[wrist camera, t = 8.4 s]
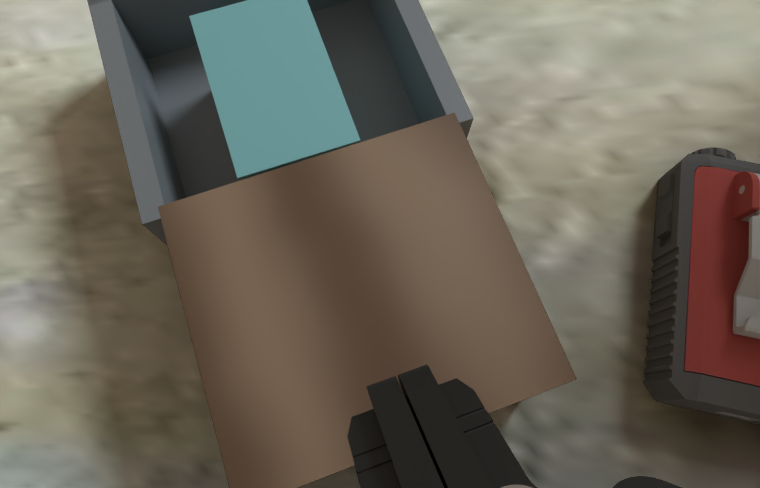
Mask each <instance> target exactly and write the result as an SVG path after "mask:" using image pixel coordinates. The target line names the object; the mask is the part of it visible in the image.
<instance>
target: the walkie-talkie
mask: <svg viewBox="0 0 760 488" xmlns="http://www.w3.org/2000/svg"><path fill="white" fill-rule="evenodd" d="M652 261H653V262H654V267H653V268H652V270H651V271H652V272H653V278H652V279H651V283H653V285H652V289H651V290H650V293H651V294H652V298H651V300H650V301H649V304H650V305H651V311H649V312H648V315H649V316H650V322H649V323H648V324H647V326H648V327H649V334H647V338H648V339H649V340H648V346H646V350H647V351H648V354H647V357H646V358H645V362H647V368H646V369H644V373H645V374H646V381H644V382H643V383H644V385H645V386H646V388H647V389H648V390H649V392H650V393H651V395H652V396H653V397H654V399H655V400H656V401H658V402H662V403H667V404H671V405H675V406H680V407H684V408H689V409H693V410H698V411H702V412H706V413H711V414H715V415H720V416H724V417H728V418H733V419H737V420H742V421H746V422H750V423H755V424H759V425H760V164H755V163H750V162H745V161H740V160H736V157H735V154H733V153H732V152H730V151H728V150H726V149H722V148H706V149H700V150H697V151H695V152H693V153H691V154H688V155H687V156H686V157H685V158H684V159H682V160H681V161H680V162H679V163H678V164H676V165H675V166H674V167H673V168H672V169H671V170H669V171H668V172H667V173H666V174H665V175H664V176H663V177H661V178H660V179H659V180H658V188H657V201H656V215H655V229H654V242H653V256H652Z"/></svg>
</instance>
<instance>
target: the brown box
mask: <svg viewBox="0 0 760 488" xmlns="http://www.w3.org/2000/svg"><path fill="white" fill-rule="evenodd" d="M158 210H159V213H160V217H161V221H162V225H163V229H164V233H165V237H166V241H167V245H168V249H169V253H170V256H171V260H172V264H173V268H174V272H175V276H176V280H177V284H178V288H179V292H180V296H181V299H182V303H183V307H184V311H185V315H186V319H187V323H188V327H189V331H190V335H191V339H192V342H193V346H194V350H195V354H196V358H197V362H198V366H199V370H200V374H201V378H202V382H203V385H204V389H205V393H206V397H207V401H208V405H209V409H210V413H211V417H212V421H213V425H214V428H215V432H216V436H217V440H218V444H219V448H220V452H221V456H222V460H223V464H224V468H225V471H226V475H227V479H228V483H229V487H230V488H298V487H300V486H303V485H305V484H308V483H310V482H313V481H316V480H318V479H321V478H323V477H326V476H328V475H331V474H334V473H336V472H339V471H341V470H344V469H347V468H349V467H352V466H354V465H355V464H354V460H353V457H352V453H351V449H350V445H349V442H348V438H347V436H348V431H349V427H350V422H351V418H352V416H355V415H358V414H361V413H363V412H366V411H369V410H371V409H373V406H372V403H371V400H370V397H369V394H368V391H367V388H366V386H369V385H372V384H374V383H377V382H380V381H383V380H385V379H388V378H391V377H394V376H396V378H397V380H398V382H399V379H398V375H399V374H402V373H404V372H407V371H410V370H413V369H415V368H418V367H421V366H424V365H426V364H427V365H428V366H429V368H430V370H431V372H432V373H433V375H434V377H435V379H436V381H437V383H438V385H439V384H442V383H444V382H447V381H450V380H453V379H455V378H457V379H459V380H460V381H462V382H463V383H465V384H466V385H468V386H469V387H471V388H472V389H474V391H475V392H476V394H477V396H478V397H479V399H480V401H481V402H482V404H483V406H484V408H485V410H487V412H488V413H491V412H493V411H496V410H499V409H501V408H504V407H506V406H509V405H512V404H514V403H517V402H519V401H522V400H524V399H527V398H530V397H532V396H535V395H537V394H540V393H542V392H545V391H548V390H550V389H553V388H555V387H558V386H560V385H563V384H566V383H568V382H571V381H573V380H576V376H575V374H574V372H573V370H572V368H571V365H570V363H569V361H568V359H567V357H566V355H565V352H564V350H563V348H562V346H561V344H560V341H559V339H558V337H557V335H556V333H555V331H554V328H553V326H552V324H551V322H550V320H549V317H548V315H547V313H546V311H545V309H544V306H543V304H542V302H541V300H540V298H539V296H538V293H537V291H536V289H535V287H534V285H533V282H532V280H531V278H530V276H529V274H528V272H527V269H526V267H525V265H524V263H523V261H522V258H521V256H520V254H519V252H518V250H517V248H516V245H515V243H514V241H513V239H512V237H511V234H510V232H509V230H508V228H507V226H506V223H505V221H504V219H503V217H502V215H501V213H500V210H499V208H498V206H497V204H496V202H495V199H494V197H493V195H492V193H491V191H490V189H489V186H488V184H487V182H486V180H485V178H484V175H483V173H482V171H481V169H480V167H479V165H478V162H477V160H476V158H475V156H474V154H473V151H472V149H471V147H470V145H469V143H468V141H467V138H466V136H465V134H464V132H463V130H462V127H461V125H460V123H459V121H458V119H457V116H456V114H455V113H451V114H448V115H445V116H442V117H439V118H436V119H432V120H429V121H426V122H423V123H420V124H417V125H414V126H410V127H407V128H404V129H401V130H398V131H395V132H392V133H388V134H385V135H382V136H379V137H376V138H373V139H369V140H366V141H363V142H360V143H357V144H354V145H351V146H347V147H344V148H341V149H338V150H335V151H332V152H329V153H325V154H322V155H319V156H316V157H313V158H310V159H306V160H303V161H300V162H297V163H294V164H291V165H288V166H284V167H281V168H278V169H275V170H272V171H269V172H266V173H262V174H259V175H256V176H253V177H250V178H247V179H243V180H240V181H237V182H234V183H231V184H228V185H225V186H221V187H218V188H215V189H212V190H209V191H206V192H203V193H199V194H196V195H193V196H190V197H187V198H184V199H180V200H177V201H174V202H171V203H168V204H165V205H162V206H158ZM399 384H400V383H399ZM400 387H401V386H400Z"/></svg>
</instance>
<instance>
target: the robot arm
mask: <svg viewBox="0 0 760 488" xmlns="http://www.w3.org/2000/svg"><path fill="white" fill-rule="evenodd" d="M398 379H399V382H398V380H397V378H396V376H394V377H391V378H388V379H385V380H383V381H380V382H377V383H374V384H372V385H369V386H366V388H367V391H368V394H369V397H370V400H371V403H372V406H373V409H371V410H369V411H366V412H363V413H361V414H358V415H355V416H352V418H351V422H350V427H349V431H348V436H347V438H348V442H349V445H350V449H351V453H352V457H353V460H354V464H355V468H356V472H357V475H358V479H359V483H360V487H361V488H537V487H536V486H534V484H533V483H532V482H531V481H530V480H529V479H528V477H527V476H526V474H525V473H524V471H523V469H522V468H521V466H520V465H519V463H518V461H517V460H516V458H515V456H514V455H513V453H512V451H511V450H510V448H509V446H508V445H507V443H506V442H505V440H504V438H503V437H502V435H501V433H500V432H499V430H498V428H497V427H496V425H495V424H494V423H493V420H492V419H491V417H490V415H489V414H488V412H487V410H485V408H484V406H483V404H482V402H481V401H480V399H479V397H478V396H477V394H476V392H475V391H474V389H472V388H471V387H469V386H468V385H466V384H465V383H463V382H462V381H460V380H459V379H457V378H455V379H453V380H450V381H447V382H444V383H442V384H439V385H438V383H437V381H436V379H435V377H434V375H433V373H432V372H431V370H430V368H429V366H428V365H427V364H426V365H424V366H421V367H418V368H415V369H413V370H410V371H407V372H404V373H402V374H399V375H398ZM399 383H400V384H399ZM400 386H401V387H400ZM613 488H682V487H679V486H676V485H673V484H671V483H668V482H665V481H663V480H659V479H656V478H652V477H644V476H638V477H631V478H627V479H624V480H622V481H620V482H619V483H617V484H616V485H615V486H614V487H613Z"/></svg>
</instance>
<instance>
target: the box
mask: <svg viewBox="0 0 760 488" xmlns="http://www.w3.org/2000/svg"><path fill="white" fill-rule="evenodd" d="M243 1H246V0H88V5H89V9H90V13H91V17H92V21H93V25H94V29H95V33H96V37H97V41H98V46H99V50H100V54H101V58H102V62H103V66H104V70H105V74H106V78H107V82H108V87H109V91H110V95H111V99H112V103H113V107H114V111H115V115H116V119H117V123H118V128H119V132H120V136H121V140H122V144H123V148H124V152H125V156H126V160H127V164H128V169H129V173H130V177H131V181H132V185H133V189H134V193H135V197H136V201H137V205H138V209H139V214H140V218H141V222H142V225H144V226H145V227H146V228H147V229H148V230H149V231H151V232H152V233H153V234H154V235H155V236H157V237H158V238H159V239H160V240H161V241H163V242H164V243H165V244H166V245H167V241H166V237H165V233H164V229H163V225H162V221H161V217H160V213H159V210H158V206H162V205H165V204H168V203H171V202H174V201H177V200H180V199H184V198H187V197H190V196H193V195H196V194H199V193H203V192H206V191H209V190H212V189H215V188H218V187H221V186H225V185H228V184H231V183H234V182H237V181H239V180H238V178H237V175H236V172H235V168H234V165H233V162H232V158H231V155H230V151H229V148H228V145H227V141H226V138H225V135H224V131H223V128H222V125H221V121H220V118H219V115H218V111H217V108H216V104H215V101H214V98H213V94H212V91H211V88H210V84H209V81H208V78H207V74H206V71H205V67H204V64H203V61H202V57H201V54H200V51H199V47H198V44H197V41H196V37H195V34H194V31H193V27H192V24H191V20H190V17H189V16H191V15H195V14H198V13H202V12H206V11H209V10H213V9H217V8H221V7H224V6H228V5H232V4H235V3H239V2H243ZM307 1H308V4H309V6H310V9H311V12H312V14H313V17H314V19H315V22H316V25H317V27H318V30H319V33H320V35H321V38H322V40H323V43H324V46H325V48H326V51H327V54H328V56H329V59H330V61H331V64H332V67H333V69H334V72H335V75H336V77H337V80H338V82H339V85H340V88H341V90H342V93H343V96H344V98H345V101H346V103H347V106H348V109H349V111H350V114H351V117H352V119H353V122H354V124H355V127H356V130H357V132H358V135H359V138H360V141H361V142H363V141H366V140H369V139H373V138H376V137H379V136H382V135H385V134H388V133H392V132H395V131H398V130H401V129H404V128H407V127H410V126H414V125H417V124H420V123H423V122H426V121H429V120H432V119H436V118H439V117H442V116H445V115H448V114H451V113H455V114H456V116H457V119H458V121H459V123H460V125H461V127H462V130H463V132H464V134H465V136H466V138H467V136H468V133H469V130H470V127H471V124H472V121H473V116H472V114H471V112H470V110H469V108H468V106H467V103H466V101H465V99H464V97H463V95H462V93H461V91H460V89H459V86H458V84H457V82H456V80H455V78H454V76H453V74H452V71H451V69H450V67H449V65H448V63H447V61H446V59H445V56H444V54H443V52H442V50H441V48H440V46H439V44H438V41H437V39H436V37H435V35H434V33H433V31H432V29H431V27H430V24H429V22H428V20H427V18H426V16H425V14H424V12H423V9H422V7H421V5H420V3H419V1H418V0H307ZM167 246H168V245H167Z"/></svg>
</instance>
